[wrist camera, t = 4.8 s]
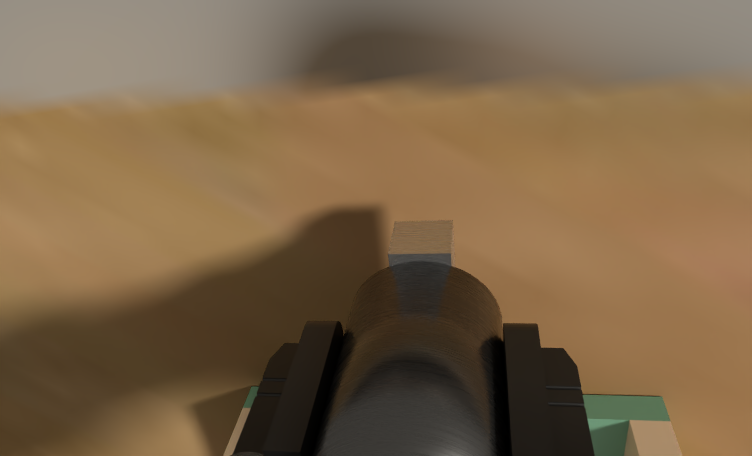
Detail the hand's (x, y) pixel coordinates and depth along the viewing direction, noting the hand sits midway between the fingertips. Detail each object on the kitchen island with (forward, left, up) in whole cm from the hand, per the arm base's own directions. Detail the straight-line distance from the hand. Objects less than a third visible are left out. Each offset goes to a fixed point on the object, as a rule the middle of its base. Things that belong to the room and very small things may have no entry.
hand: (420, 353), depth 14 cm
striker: (0, +5, -3) cm, 6 cm away
